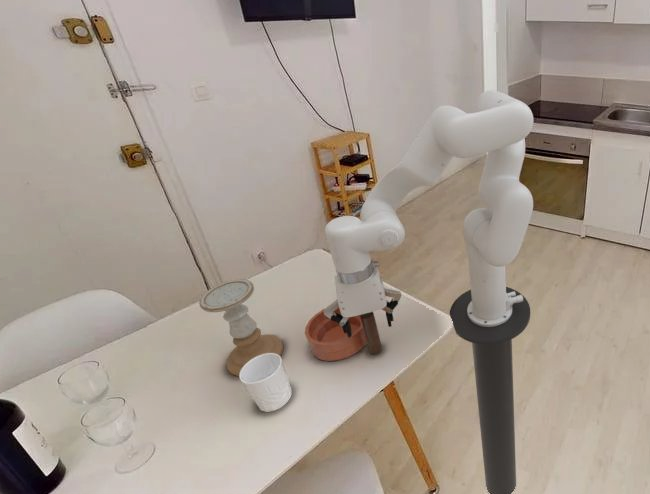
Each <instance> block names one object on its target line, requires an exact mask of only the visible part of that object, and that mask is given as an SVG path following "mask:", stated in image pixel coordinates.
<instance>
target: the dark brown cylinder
mask: <svg viewBox="0 0 650 494" xmlns="http://www.w3.org/2000/svg"><path fill="white" fill-rule="evenodd" d="M360 318H361V321H362V325H363V329H364V332H365V336H366V340H367V343H366V344H367V347H368V351H369V353H370V355H372V356H377V355H380V354H381V353H382V351H383V346H382V342H381V338H380V337H381V336H380V333H379V330H378V325H377V322H376V318H375V314H374V312H370V313H366V314H362V315H360Z"/></svg>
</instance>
